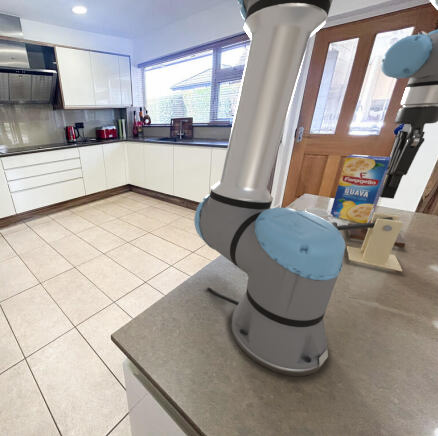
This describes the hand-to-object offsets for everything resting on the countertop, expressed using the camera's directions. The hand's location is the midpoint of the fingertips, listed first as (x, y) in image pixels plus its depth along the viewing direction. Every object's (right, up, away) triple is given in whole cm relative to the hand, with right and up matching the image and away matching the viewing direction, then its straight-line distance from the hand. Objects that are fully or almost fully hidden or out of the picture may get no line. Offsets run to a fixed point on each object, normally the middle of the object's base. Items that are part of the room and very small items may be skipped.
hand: (386, 197), depth 67 cm
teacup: (-8, -8, +17) cm, 21 cm away
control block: (+1, -12, +6) cm, 14 cm away
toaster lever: (-12, -9, -6) cm, 17 cm away
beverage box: (+7, -6, +21) cm, 23 cm away
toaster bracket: (-9, -17, -4) cm, 20 cm away
